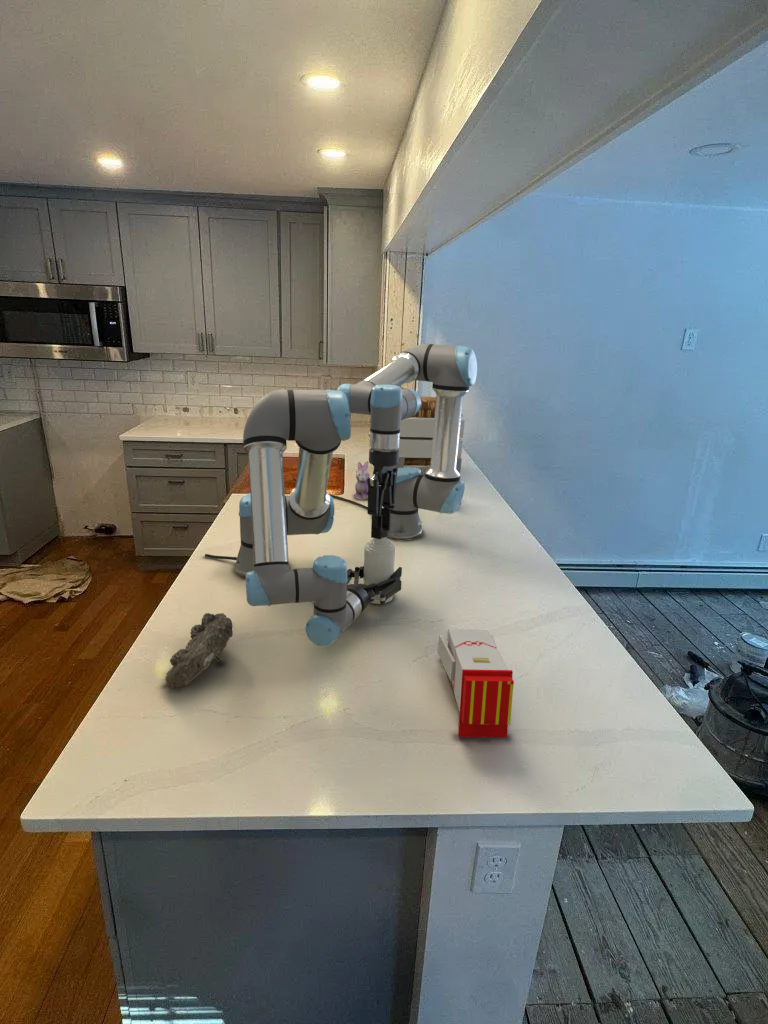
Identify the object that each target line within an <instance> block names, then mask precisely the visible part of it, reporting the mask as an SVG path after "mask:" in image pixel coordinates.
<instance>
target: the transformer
mask: <svg viewBox="0 0 768 1024" xmlns="http://www.w3.org/2000/svg"><path fill="white" fill-rule="evenodd" d="M400 388H401V389H402V388H403V387H402V385H401V386H400ZM420 399H421V406H420V409H419V411H418V412H417V413H416V414H415V415H413V416H412V417H410V418H406V419H403V420H401V424H400V447H399V448H398V450H399V462H398V464H397V465H395V466H393V467H394V468H403V467H405V466H406V467H417V466H418V467H430V465H431V453H432V441H433V430H434V418H435V406H436V396H420ZM464 429H465V419H464V418H463V414H462V415H461V425H460V435H459V445H458V455H457V465H456V469H457V471H458V472H459V473H460V475H461V472H462V461H463V460H462V453H463V442H464V441H463V440H462V439H463V438H464V431H465V430H464Z"/></svg>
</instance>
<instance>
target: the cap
mask: <svg viewBox="0 0 768 1024" xmlns="http://www.w3.org/2000/svg"><path fill="white" fill-rule="evenodd" d="M388 536H389V528H388V527H387V526H383V525H382V538H384V537H386V538H387V537H388Z"/></svg>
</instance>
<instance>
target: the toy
mask: <svg viewBox="0 0 768 1024" xmlns="http://www.w3.org/2000/svg"><path fill="white" fill-rule="evenodd" d="M446 640H447V643H446V641H445V639H444V636H443V635H442V634H439V637H438V646H437V656H438V657H439V659H440V661H441V663H442V666H443V668H444V670H445V672H446V674H447V677H448V679H449V681H450V684H451V687H452V690H453V693H454V697H455V701H456V705H457V708H458V711H459V714H458V715H459V716H458V730H457V731H458V732H457V737H458V738H508V731H509V726H510V725H511V717H512V707H513V697H514V696H513V695H514V684H515V680H514V679H513V673H514V671H513V670H512V669H508V667H507V665H506V662H505V661H504V659H503V658H502V655H501V653H500V651H499V649H498V647H497V643H496V639H495V637H494V635H493V634H491V632H490V631H489V629H467V628H466V629H465V628H463V629H461V628H460V629H459V628H448V630H447V639H446Z"/></svg>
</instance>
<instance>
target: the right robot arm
mask: <svg viewBox="0 0 768 1024" xmlns="http://www.w3.org/2000/svg"><path fill="white" fill-rule="evenodd" d="M477 375H478V361H477V357H476V353H475V351H474V350H473V348H471V347H469V346H463V345H459V344H458V345H451V344H450V345H449V344H438V343H437V344H436V343H435V344H434V343H421V344H417V345H413V346H411V347H408V348H406V349H404V350H402V351H400V352H398V353H396V354H395V355H393V357H392V358H391V361H390V362H388V363H386V364H385V365H384V366H383V367H381V368H379V369H378V370H376V371H375V372H373V373H372V374H370V375H368V376H367V377H365V378H363V379H362V380H360V381H359V382H357V383H355V384H354V383H353V384H352V383H342V384H340V385H339V386H338V387H337V389H336V390H337V391H342V392H344V393H345V395H346V397H347V401H348V406H349V414H357V415H364V416H366V415H367V416H370V422H369V424H370V426H369V433H368V437H369V447H370V448H369V449H368V462H369V464H370V465H372V466H373V470H372V476H371V477H369V478H368V479H367V483H368V499H367V505H364V504H362V503H359V502H356V501H354V500H351V499H348V498H345V497H342V496H338V495H335V494H331V493H328V494H329V495H331V496H332V498H333V499H334V498H335V499H338V500H340V501H345V502H348V503H350V504H354V505H356V506H359V507H361V508H364V509H366V510H367V513H366V514H367V515H369V516H371V525H370V527H371V529H370V538H372V539H373V538H376V539H382V525H383V526H387V527H388V528H389V536H388V537H386V538H387V539H389V540H395V541H410V540H415V539H418V538H420V537H421V536H422V535H423V525H422V520H421V518H420V515H419V510H424V511H430V512H435V513H440V514H447V515H452V514H454V513H456V512H457V510H458V509H459V508H460V506H461V505H460V503H461V504H462V502H463V501H462V500H463V497H464V494H465V489H466V486H465V482H464V481H463V480H462V479H461V474H460V473H459V472H458V471H457V469H456V465H457V455H458V445H459V435H460V425H461V418H462V417H461V415H462V416H463V403H464V396H465V395H467V394H468V393H469V391H470V387H473V386H474V385H475V383H476V381H477ZM414 381H419V382H429V383H432V386H431V387H432V390H433V392H434V393H435V397H436V406H435V418H434V430H433V441H432V453H431V465H430V466H429V468H427V469H426V470H425V471H424V474H422V470H421V468H419V467H416V466H406V467H405V466H404V467H403V468H394V467H393V466H395V465H397V464H398V462H399V450H398V448H399V447H400V424H401V420H403V419H406V418H410V417H412V416H413V415H415V414H416V413H417V412H418V411H419V409H420V406H421V399H420V397H421V396H420V394H419V393H418V392H417V391H416V390H415V389H413V388H409V387H407V388H405V387H402V386H403V385H405V384H410V383H412V382H414ZM400 386H401V387H402V389H401V388H400ZM292 480H293V481H294V482H295V483H296V478H295V477H292ZM459 505H460V506H459Z"/></svg>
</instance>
